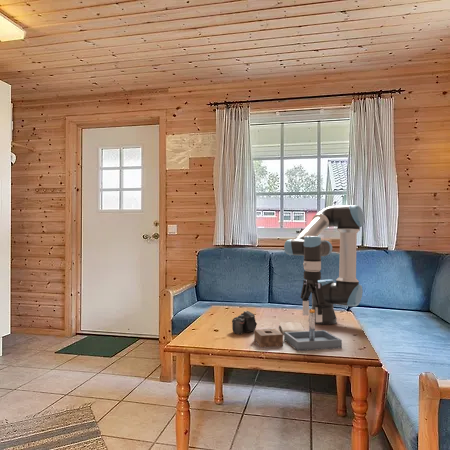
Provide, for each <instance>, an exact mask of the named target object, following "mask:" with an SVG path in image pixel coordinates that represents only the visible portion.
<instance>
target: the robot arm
mask: <svg viewBox="0 0 450 450" xmlns="http://www.w3.org/2000/svg"><path fill="white" fill-rule="evenodd" d="M364 217H365V216H364V211H363V210H362V208H361V207H360V206H359V205H357V204H355V205H354V204H353V205H352V204H348V205H347V204H346V205H331V206H327V207H324V208H323V209H321V210H319V211H318V212H317V213H315V215H313V217H312V220H311V221H310V222H309V223H308V224H307V225H306V226H305V228H303V229H302V231H301V232H300V233H299V234H297V235H296V237H295V238H294V239H292V238H291V239H287V240H285V242H284V244H283V245H284V246H283V247H284V248H283V250H284V253H286V255H289V256H303V263H302V265H303V270H304V271H303V280H302V281H303V283H302V289H301V293H300V299H301V300H302V316H309V310H310V296H311V309H313V310H315V325H316V324H317V325H335V324H337V323H338V321H337V320H338V318H337V315H336V313H335V309H334V305H337V306H345V307H354V308H355V307H357V306H359V305H360V303H361V301H362V297H363V293H364V292H363V286H362V285H361V284H360V283H359V282H360V281H359V280H358V279H357V245H358V244H357V240H358V239H357V237H358V234H357V233H359V231H361V228H362V227H363V226H364V223H365V218H364ZM332 227H336V228H337V231H338V232H339V265H338V266H339V267H338V269H339V271H338V277H337V278H336V279H335V281H334V279H322V272H321V270H322V257H327V256H329V255H330V254H332V251H333V245H332V243H331V242H330V241H329V240H326V239H322V238H321V236H319V235H320V234H321V233H322V231H324V230H327V229H328V228H332Z"/></svg>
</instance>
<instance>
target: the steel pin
mask: <svg viewBox="0 0 450 450" xmlns="http://www.w3.org/2000/svg"><path fill="white" fill-rule="evenodd" d="M308 327H309V328H308V331H309V341H315V331H316V328H315V327H316V323H315V310H313V309H310V308H309V315H308Z"/></svg>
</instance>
